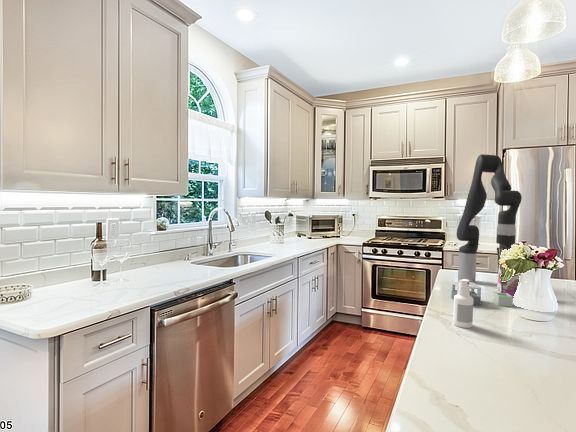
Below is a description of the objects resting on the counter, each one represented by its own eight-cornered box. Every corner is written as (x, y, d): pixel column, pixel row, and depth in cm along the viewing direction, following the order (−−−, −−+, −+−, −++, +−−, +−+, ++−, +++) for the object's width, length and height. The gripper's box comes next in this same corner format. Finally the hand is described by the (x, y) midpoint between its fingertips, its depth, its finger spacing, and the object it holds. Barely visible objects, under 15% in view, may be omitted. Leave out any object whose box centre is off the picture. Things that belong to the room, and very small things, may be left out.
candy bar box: (501, 296, 179) (502, 264, 178) (496, 293, 184) (498, 262, 183) (524, 297, 178) (526, 265, 177) (519, 294, 183) (521, 263, 181)
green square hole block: (493, 301, 170) (493, 292, 170) (506, 302, 169) (507, 293, 169) (498, 305, 164) (498, 295, 164) (512, 306, 163) (512, 296, 163)
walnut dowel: (499, 283, 167) (500, 256, 167) (505, 283, 167) (506, 256, 166) (501, 285, 165) (503, 257, 164) (508, 285, 164) (509, 257, 164)
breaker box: (451, 297, 176) (451, 281, 175) (472, 298, 174) (473, 282, 174) (457, 303, 166) (458, 286, 166) (480, 305, 165) (481, 287, 164)
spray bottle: (464, 329, 135) (466, 282, 134) (449, 323, 141) (450, 278, 140) (476, 326, 138) (478, 280, 137) (460, 320, 144) (462, 277, 143)
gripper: (491, 231, 172) (489, 267, 173) (503, 235, 158) (501, 273, 159) (508, 232, 171) (506, 267, 172) (522, 235, 157) (520, 274, 158)
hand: (504, 270), depth 166 cm, fingers closed on walnut dowel, 2 cm apart
